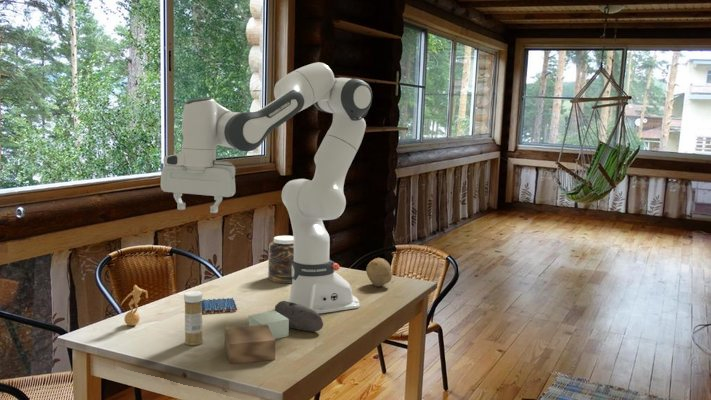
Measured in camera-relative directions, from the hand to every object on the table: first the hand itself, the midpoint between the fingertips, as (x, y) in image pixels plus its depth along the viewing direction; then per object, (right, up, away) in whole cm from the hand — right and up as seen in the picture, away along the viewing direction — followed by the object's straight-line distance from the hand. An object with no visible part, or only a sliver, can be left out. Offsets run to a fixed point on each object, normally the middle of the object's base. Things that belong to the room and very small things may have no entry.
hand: (197, 211), depth 169 cm
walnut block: (+15, -36, -10) cm, 40 cm away
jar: (+17, -26, +57) cm, 65 cm away
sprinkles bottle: (0, -34, -4) cm, 35 cm away
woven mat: (0, -31, +24) cm, 39 cm away
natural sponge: (+50, -27, +52) cm, 77 cm away
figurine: (-19, -32, +6) cm, 38 cm away
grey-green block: (+18, -34, +4) cm, 39 cm away
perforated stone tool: (+27, -33, +8) cm, 44 cm away
